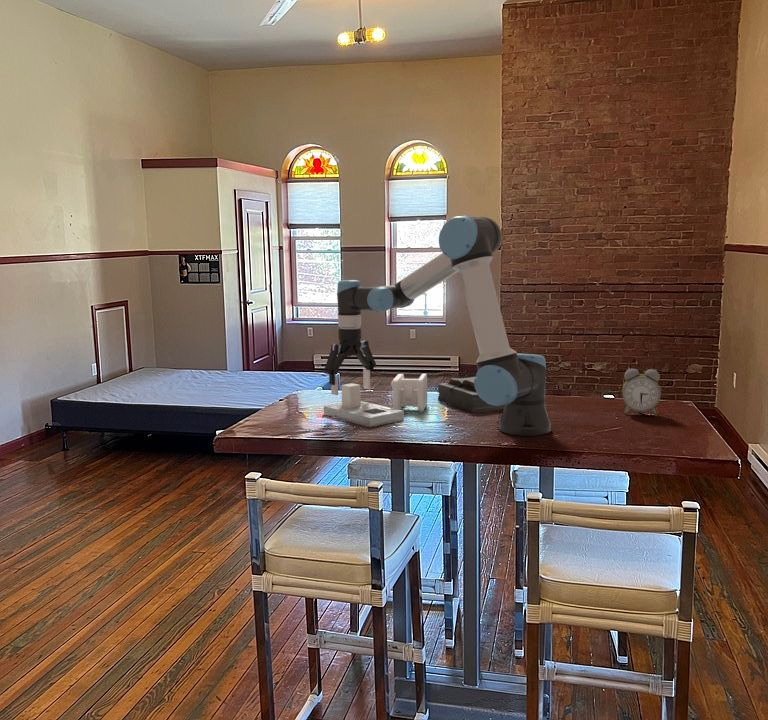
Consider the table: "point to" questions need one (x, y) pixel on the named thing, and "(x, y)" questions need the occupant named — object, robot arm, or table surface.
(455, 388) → the dark grey tray
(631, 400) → the alarm clock
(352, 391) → the plug
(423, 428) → the table surface
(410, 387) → the cable organizer
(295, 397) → the table surface
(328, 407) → the panel
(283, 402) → the table surface
